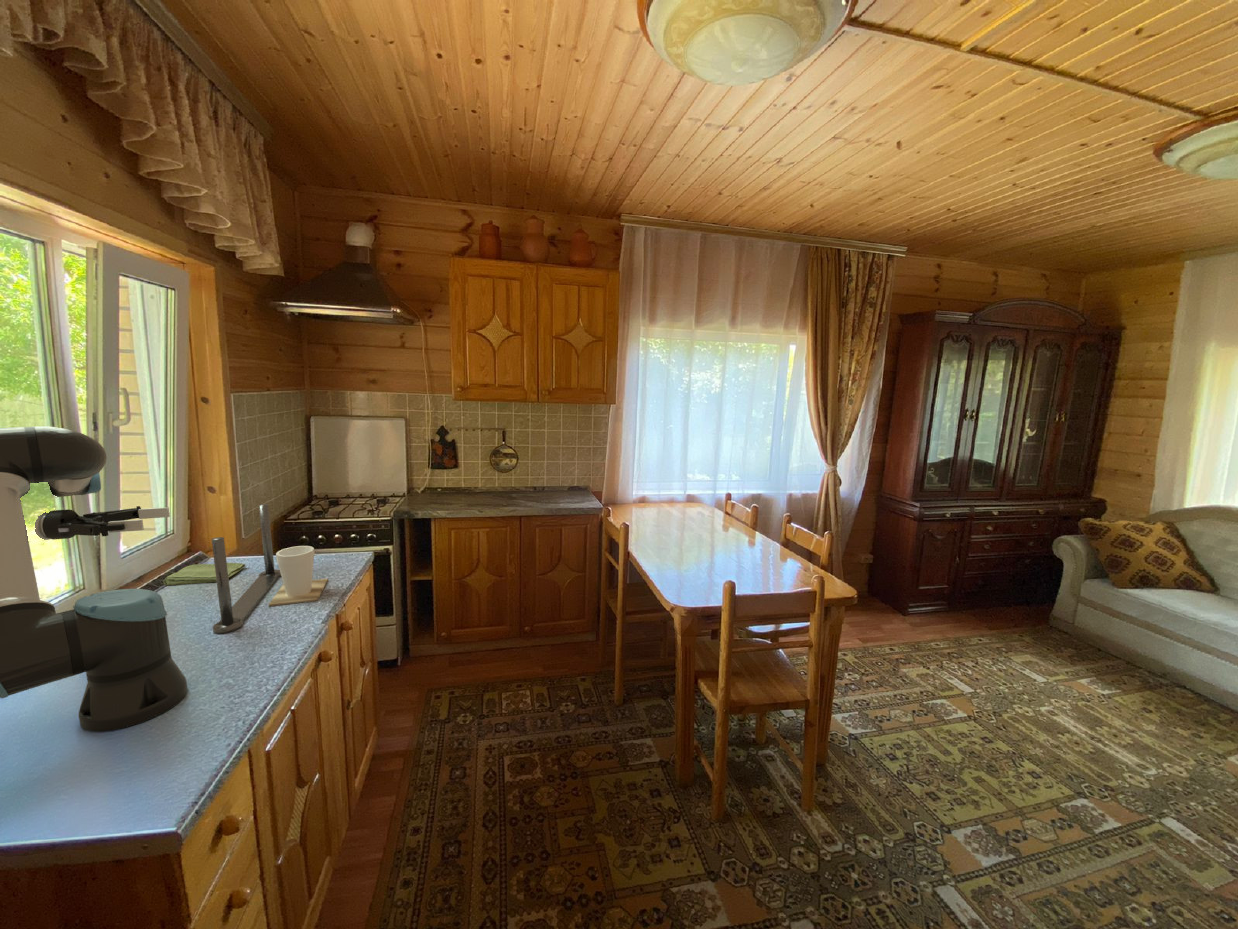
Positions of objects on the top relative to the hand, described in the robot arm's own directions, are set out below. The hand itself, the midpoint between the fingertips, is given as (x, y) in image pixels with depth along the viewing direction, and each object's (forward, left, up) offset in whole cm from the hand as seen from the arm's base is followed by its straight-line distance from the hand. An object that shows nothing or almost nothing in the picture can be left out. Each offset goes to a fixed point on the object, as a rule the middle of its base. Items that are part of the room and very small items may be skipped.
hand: (156, 518), depth 132 cm
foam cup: (0, -32, -26) cm, 41 cm away
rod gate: (0, -20, -26) cm, 33 cm away
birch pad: (+1, -32, -26) cm, 41 cm away
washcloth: (+24, 0, -27) cm, 36 cm away
